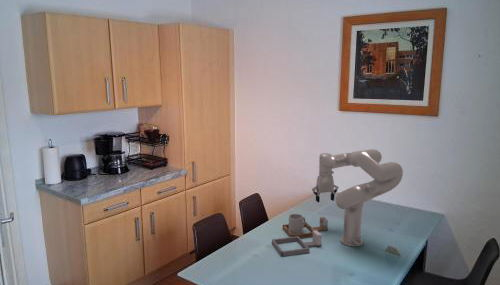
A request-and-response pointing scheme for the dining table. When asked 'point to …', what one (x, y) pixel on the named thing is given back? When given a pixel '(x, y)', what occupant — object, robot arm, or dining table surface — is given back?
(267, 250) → the dining table surface
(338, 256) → the dining table surface
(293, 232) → the mug
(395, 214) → the dining table surface
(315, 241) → the grey frame with handle
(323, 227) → the brown frame with handle
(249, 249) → the dining table surface
